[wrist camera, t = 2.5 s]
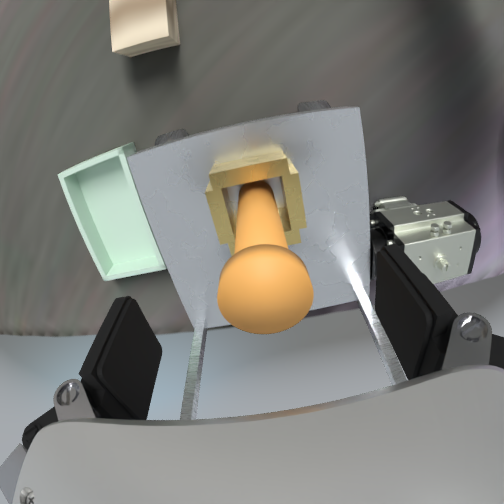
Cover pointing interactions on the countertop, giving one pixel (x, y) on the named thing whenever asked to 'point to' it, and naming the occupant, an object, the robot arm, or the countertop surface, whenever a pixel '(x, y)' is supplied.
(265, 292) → the pin
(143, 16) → the block
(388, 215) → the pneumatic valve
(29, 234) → the countertop surface
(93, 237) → the tray
